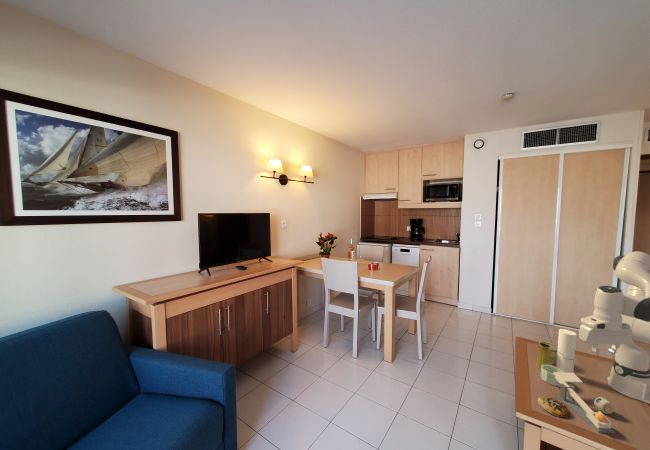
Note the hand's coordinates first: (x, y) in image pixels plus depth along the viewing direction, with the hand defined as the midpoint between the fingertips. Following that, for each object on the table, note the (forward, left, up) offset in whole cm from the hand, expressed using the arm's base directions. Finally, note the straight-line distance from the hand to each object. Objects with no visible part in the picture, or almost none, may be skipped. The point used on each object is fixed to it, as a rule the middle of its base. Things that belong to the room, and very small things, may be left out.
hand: (604, 352), depth 114 cm
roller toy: (-4, -1, -30) cm, 30 cm away
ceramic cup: (-13, -41, -29) cm, 52 cm away
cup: (+2, -22, -29) cm, 37 cm away
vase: (-2, -33, -29) cm, 44 cm away
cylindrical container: (-10, -28, -29) cm, 42 cm away
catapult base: (+8, +1, -29) cm, 30 cm away
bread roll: (+19, -2, -30) cm, 36 cm away
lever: (+4, -3, -25) cm, 25 cm away
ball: (+8, +8, -25) cm, 27 cm away
